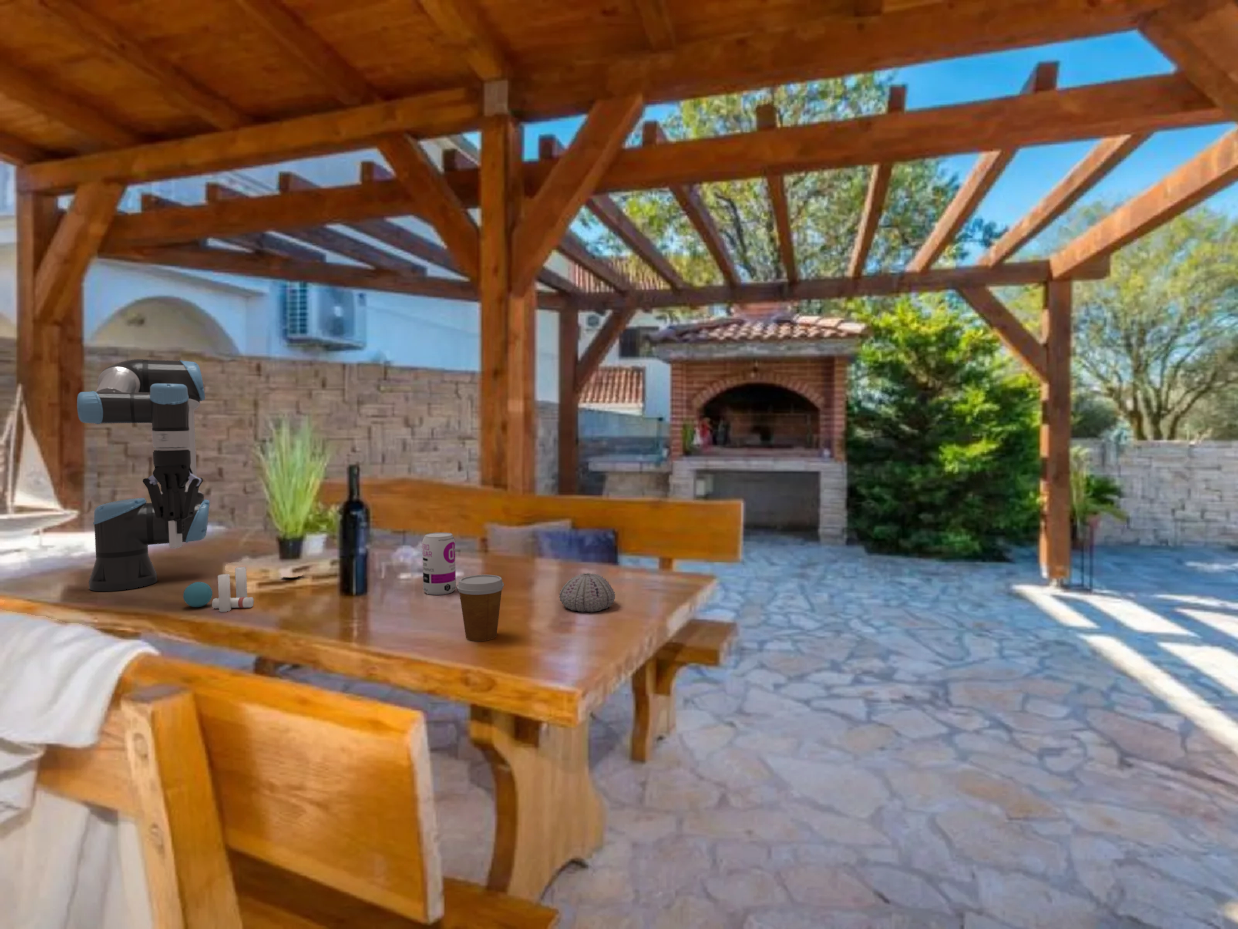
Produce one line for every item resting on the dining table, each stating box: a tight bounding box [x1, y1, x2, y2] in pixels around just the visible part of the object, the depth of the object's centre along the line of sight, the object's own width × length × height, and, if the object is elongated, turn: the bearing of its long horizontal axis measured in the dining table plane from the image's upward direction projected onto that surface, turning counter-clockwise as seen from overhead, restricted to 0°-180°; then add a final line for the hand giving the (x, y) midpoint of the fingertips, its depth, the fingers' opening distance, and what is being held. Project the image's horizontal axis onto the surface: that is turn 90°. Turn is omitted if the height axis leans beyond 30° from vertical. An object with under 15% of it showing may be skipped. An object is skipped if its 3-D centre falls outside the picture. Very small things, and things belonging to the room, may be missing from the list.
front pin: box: [211, 596, 255, 609], centre depth 166 cm, size 2×2×8 cm
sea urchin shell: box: [558, 572, 616, 613], centre depth 166 cm, size 13×14×8 cm
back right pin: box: [217, 573, 232, 613], centre depth 163 cm, size 2×2×8 cm
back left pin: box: [234, 566, 248, 598], centre depth 171 cm, size 2×2×8 cm
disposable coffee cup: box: [456, 574, 505, 642], centre depth 142 cm, size 10×10×12 cm
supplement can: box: [421, 532, 457, 596], centre depth 180 cm, size 8×8×15 cm
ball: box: [182, 581, 213, 608], centre depth 167 cm, size 6×6×6 cm
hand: (176, 547), depth 166 cm, fingers closed
